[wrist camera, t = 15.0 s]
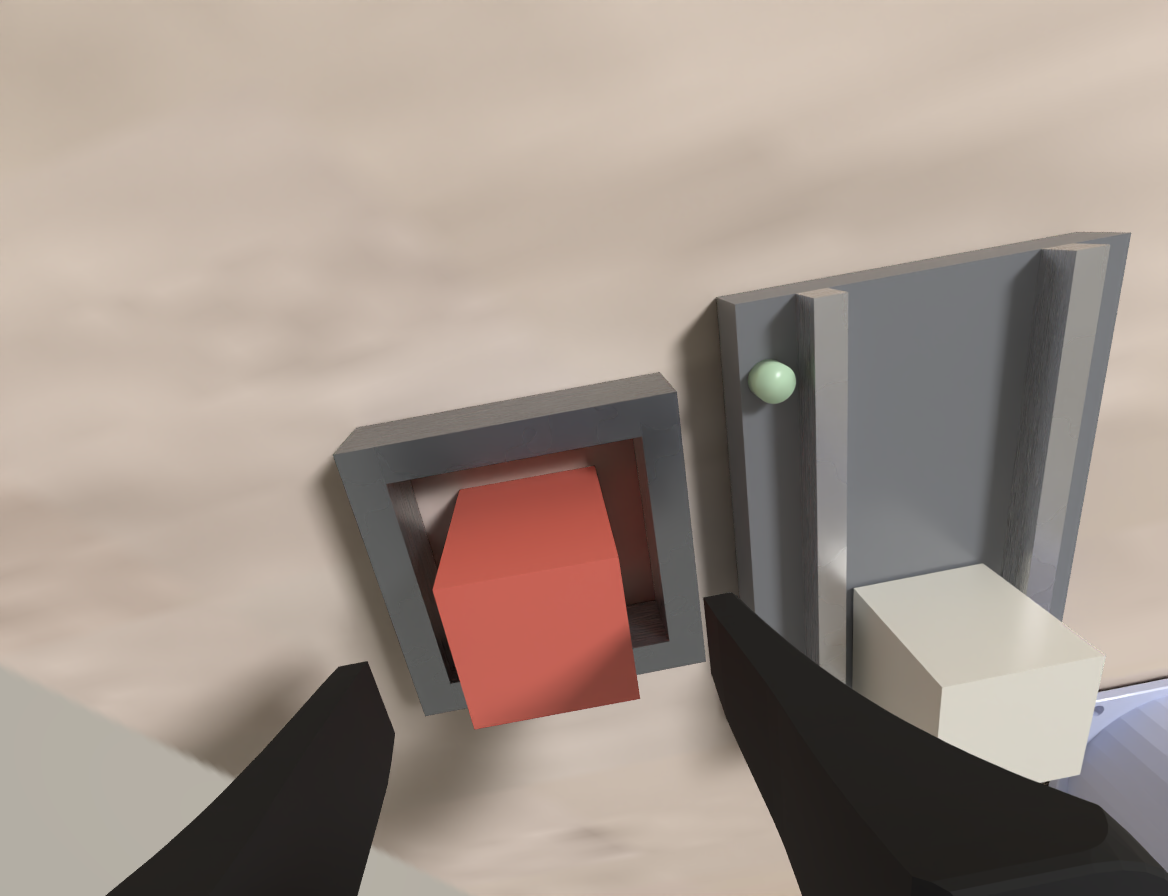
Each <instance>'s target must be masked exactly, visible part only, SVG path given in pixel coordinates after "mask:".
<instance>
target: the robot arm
mask: <svg viewBox="0 0 1168 896" xmlns="http://www.w3.org/2000/svg"><path fill="white" fill-rule="evenodd" d="M703 599H704V609H705V618H706V628H707V637H708V647H709V656H710V666H711V674H712V677H713V680H714V683H715V686H716V689H717V692H718V695H719V698H720V701H721V704H722V707H723V710H724V713H725V716H726V719H727V721H728V723H729V725H730V727H731V730H732V732H733V734H734V736H735V738H736V741H737V743H738V745H739V747H740V749H741V751H742V754H743V756H744V758H745V760H746V762H747V764H748V767H749V769H750V771H751V773H752V775H753V777H754V780H755V782H756V784H757V786H758V788H759V790H760V793H761V795H762V797H763V799H764V801H765V803H766V805H767V808H768V810H769V812H770V814H771V816H772V818H773V821H774V823H775V825H776V828H777V830H778V832H779V835H780V837H781V840H782V842H783V844H784V847H785V849H786V852H787V855H788V858H789V860H790V863H791V866H792V869H793V871H794V874H795V877H796V880H797V882H798V885H799V888H800V891H801V894H802V896H1168V678H1167V679H1162V680H1157V681H1152V682H1147V683H1142V684H1137V685H1132V686H1127V687H1122V688H1117V689H1112V690H1107V691H1102V692H1098V694H1097V699H1096V704H1095V708H1094V713H1093V717H1092V722H1091V726H1090V731H1089V736H1088V740H1087V745H1086V749H1085V754H1084V758H1083V763H1082V768H1081V772H1080V775H1076V776H1071V777H1066V778H1061V779H1056V780H1051V781H1050V782H1049V786H1047V785H1044V784H1041V783H1039V782H1036V781H1033V780H1031V779H1028V778H1025V777H1023V776H1020V775H1018V774H1016V773H1013V772H1011V771H1009V770H1006V769H1004V768H1002V767H999V766H997V765H995V764H993V763H990V762H988V761H986V760H983V759H981V758H979V757H977V756H974V755H972V754H970V753H968V752H966V751H964V750H961V749H959V748H957V747H955V746H953V745H951V744H949V743H947V742H945V741H943V740H941V739H939V738H937V737H935V736H933V735H931V734H929V733H927V732H925V731H924V730H922V729H920V728H918V727H916V726H914V725H912V724H910V723H908V722H906V721H905V720H903V719H901V718H899V717H897V716H896V715H894V714H892V713H890V712H889V711H887V710H885V709H884V708H882V707H880V706H879V705H877V704H875V703H874V702H872V701H870V700H869V699H867V698H866V697H864V696H862V695H861V694H859V693H858V692H856V691H855V690H853V689H852V688H850V687H849V686H847V685H846V684H844V683H843V682H841V681H840V680H839V679H837V678H836V677H834V676H833V675H832V674H830V673H829V672H827V671H826V670H825V669H823V668H822V667H820V666H819V665H818V664H816V663H815V662H814V661H812V660H811V659H810V658H808V657H807V656H806V655H805V654H803V653H802V652H801V651H800V650H798V649H797V648H796V647H795V646H793V645H792V644H791V643H790V642H788V641H787V640H786V639H785V638H783V637H782V636H781V635H780V634H779V633H777V632H776V631H775V630H774V629H773V628H772V627H770V626H769V625H768V624H767V623H766V622H765V621H764V620H762V619H761V618H760V617H759V616H758V615H757V614H756V613H755V612H754V611H752V610H751V609H750V608H749V607H748V606H747V605H746V604H745V603H744V602H743V601H742V600H740V599H739V598H738V597H737V596H736V595H735V594H733V593H732V592H731V593H726V594H720V595H715V596H710V597H704V598H703ZM394 738H395V732H394V729H393V727H392V724H391V721H390V719H389V716H388V714H387V711H386V708H385V706H384V703H383V701H382V698H381V695H380V693H379V690H378V688H377V685H376V682H375V680H374V677H373V674H372V672H371V669H370V667H369V664H368V661H366V662H361V663H356V664H350V665H345V666H340V667H338V668H337V669H336V670H335V671H334V672H333V673H332V674H331V675H330V676H329V677H328V679H327V680H326V681H325V682H324V683H323V684H322V685H321V686H320V687H319V689H318V690H317V691H316V692H315V693H314V694H313V695H312V696H311V698H310V699H309V700H308V701H307V702H306V703H305V704H304V705H303V707H302V708H301V709H300V710H299V711H298V712H297V713H296V714H295V716H294V717H293V718H292V719H291V720H290V721H289V722H288V723H287V724H286V726H285V727H284V728H283V729H282V730H281V731H280V732H279V733H278V734H277V736H276V737H275V738H274V739H273V740H272V741H271V742H270V743H269V744H268V745H267V747H266V748H265V749H264V750H263V751H262V752H261V753H260V754H259V755H258V756H257V757H256V758H255V759H254V760H253V761H252V762H251V763H250V764H249V765H248V766H247V767H246V768H245V770H244V771H243V772H242V773H241V774H240V775H239V776H238V777H237V778H236V779H235V780H234V781H233V782H232V783H231V784H230V785H229V786H228V787H227V788H226V789H225V790H224V791H223V792H222V793H221V794H220V795H219V796H218V797H217V798H216V799H215V800H214V801H213V802H212V803H211V804H210V805H209V806H208V807H207V808H206V809H205V810H204V811H203V812H202V813H201V814H200V815H199V816H197V817H196V818H195V819H194V820H193V821H192V822H191V823H190V824H189V825H188V826H187V827H186V828H184V829H183V830H182V831H181V832H180V833H179V834H178V835H177V836H176V837H174V839H172V840H171V841H170V842H169V843H168V844H167V845H166V846H165V847H164V848H162V849H161V850H160V851H159V852H158V853H156V854H155V855H154V856H153V857H152V858H151V859H149V860H148V861H147V862H146V863H145V864H143V865H142V866H141V867H140V868H138V869H137V870H136V871H135V872H134V873H132V874H131V875H130V876H129V877H127V878H126V879H125V880H124V881H123V882H121V883H120V884H119V885H118V886H117V887H115V888H114V889H113V890H112V891H110V892H109V893H108V894H107V895H106V896H357V895H358V891H359V888H360V884H361V880H362V877H363V873H364V870H365V866H366V863H367V859H368V855H369V852H370V848H371V844H372V841H373V837H374V834H375V830H376V826H377V823H378V819H379V815H380V812H381V808H382V804H383V800H384V797H385V793H386V789H387V785H388V779H389V773H390V767H391V761H392V753H393V745H394Z"/></svg>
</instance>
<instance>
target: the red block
mask: <svg viewBox="0 0 1168 896" xmlns="http://www.w3.org/2000/svg"><path fill="white" fill-rule="evenodd" d="M433 594H434V597H435V600H436V604H437V607H438V610H439V614H440V617H441V620H442V624H443V627H444V630H445V633H446V637H447V640H448V643H449V647H450V650H451V653H452V657H453V660H454V663H455V667H456V670H457V673H458V677H459V680H460V683H461V687H462V690H463V693H464V696H465V700H466V703H467V706H468V710H469V713H470V716H471V720H472V723H473V726H474V729H480V728H485V727H490V726H496V725H501V724H507V723H512V722H517V721H523V720H528V719H533V718H539V717H544V716H550V715H555V714H560V713H566V712H571V711H577V710H582V709H587V708H593V707H598V706H604V705H609V704H614V703H620V702H625V701H631V700H636V699H640V695H639V688H638V681H637V675H636V668H635V662H634V655H633V649H632V642H631V636H630V629H629V623H628V616H627V609H626V603H625V596H624V590H623V583H622V577H621V570H620V564H619V557H618V553H617V549H616V546H615V542H614V538H613V534H612V530H611V527H610V523H609V519H608V515H607V511H606V507H605V504H604V500H603V496H602V492H601V488H600V484H599V481H598V477H597V473H596V469H595V466H591V467H585V468H579V469H574V470H568V471H562V472H557V473H551V474H546V475H540V476H534V477H529V478H523V479H517V480H512V481H506V482H500V483H495V484H489V485H483V486H478V487H472V488H466V489H461V490H459V494H458V497H457V501H456V505H455V508H454V512H453V516H452V520H451V523H450V527H449V531H448V534H447V538H446V542H445V546H444V549H443V553H442V557H441V561H440V564H439V568H438V572H437V575H436V579H435V583H434V587H433Z"/></svg>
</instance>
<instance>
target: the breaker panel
mask: <svg viewBox="0 0 1168 896" xmlns="http://www.w3.org/2000/svg"><path fill="white" fill-rule="evenodd" d="M1130 236H1131V233H1116V232H1075V233H1069V234H1064V235H1058V236H1053V237H1047V238H1042V239H1036V240H1031V241H1025V242H1020V243H1014V244H1009V245H1003V246H998V247H992V248H986V249H981V250H975V251H970V252H964V253H959V254H953V255H948V256H942V257H937V258H931V259H926V260H920V261H915V262H909V263H904V264H898V265H892V266H887V267H881V268H876V269H870V270H865V271H859V272H854V273H848V274H843V275H837V276H832V277H826V278H821V279H815V280H810V281H804V282H798V283H793V284H787V285H782V286H776V287H771V288H765V289H760V290H754V291H749V292H743V293H738V294H732V295H727V296H721V297H717V310H718V324H719V337H720V350H721V363H722V376H723V389H724V402H725V415H726V428H727V441H728V454H729V468H730V481H731V494H732V507H733V520H734V533H735V546H736V559H737V572H738V585H739V598H740V600H742V601H743V602H744V603H745V604H746V605H747V606H748V607H749V608H750V609H751V610H752V611H754V612H755V613H756V614H757V615H758V616H759V617H760V618H761V619H762V620H764V621H765V622H766V623H767V624H768V625H769V626H770V627H772V628H773V629H774V630H775V631H776V632H777V633H779V634H780V635H781V636H782V637H783V638H785V639H786V640H787V641H788V642H790V643H791V644H792V645H793V646H795V647H796V648H797V649H798V650H800V651H801V652H802V653H803V654H805V655H806V656H807V657H808V658H810V659H811V660H812V661H814V662H815V663H816V664H818V665H819V666H820V667H822V668H823V669H825V670H826V671H827V672H829V673H830V674H832V675H833V676H834V677H836V678H837V679H839V680H840V681H841V682H843V683H844V684H846V685H847V686H849V687H850V688H852V676H853V595H854V588H857V587H862V586H868V585H873V584H878V583H883V582H888V581H894V580H899V579H904V578H909V577H914V576H919V575H925V574H930V573H935V572H940V571H945V570H950V569H956V568H961V567H966V566H971V565H976V564H982V563H983V564H984V565H986V566H987V567H988V568H990V569H991V570H993V571H994V572H995V573H997V574H998V575H999V576H1001V577H1002V578H1003V579H1005V580H1006V581H1007V582H1009V583H1010V584H1011V585H1013V586H1014V587H1015V588H1017V589H1018V590H1019V591H1021V592H1022V593H1023V594H1025V595H1026V596H1027V597H1029V598H1030V599H1031V600H1033V601H1034V602H1035V603H1037V604H1038V605H1039V606H1041V607H1042V608H1043V609H1045V610H1046V611H1047V612H1049V613H1050V614H1052V615H1053V616H1054V617H1056V618H1057V619H1058V620H1060V621H1061V622H1062V619H1063V613H1064V607H1065V602H1066V596H1067V591H1068V585H1069V579H1070V574H1071V568H1072V562H1073V557H1074V551H1075V546H1076V540H1077V534H1078V529H1079V523H1080V517H1081V512H1082V506H1083V501H1084V495H1085V489H1086V484H1087V478H1088V473H1089V467H1090V461H1091V456H1092V450H1093V444H1094V439H1095V433H1096V428H1097V422H1098V416H1099V411H1100V405H1101V399H1102V394H1103V388H1104V383H1105V377H1106V371H1107V366H1108V360H1109V354H1110V349H1111V343H1112V338H1113V332H1114V326H1115V321H1116V315H1117V309H1118V304H1119V298H1120V293H1121V287H1122V281H1123V276H1124V270H1125V265H1126V259H1127V253H1128V248H1129V242H1130Z"/></svg>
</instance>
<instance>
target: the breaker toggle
mask: <svg viewBox="0 0 1168 896" xmlns="http://www.w3.org/2000/svg"><path fill="white" fill-rule="evenodd" d="M1105 658H1106V655H1105V654H1104V653H1102V652H1101V651H1100V650H1098V649H1097V648H1096V647H1094V646H1093V645H1092V644H1090V643H1089V642H1088V641H1086V640H1085V639H1084V638H1082V637H1081V636H1080V635H1078V634H1077V633H1076V632H1074V631H1073V630H1072V629H1070V628H1069V627H1068V626H1066V625H1065V624H1064V623H1062V622H1061V621H1060V620H1058V619H1057V618H1056V617H1054V616H1053V615H1052V614H1050V613H1049V612H1047V611H1046V610H1045V609H1043V608H1042V607H1041V606H1039V605H1038V604H1037V603H1035V602H1034V601H1033V600H1031V599H1030V598H1029V597H1027V596H1026V595H1025V594H1023V593H1022V592H1021V591H1019V590H1018V589H1017V588H1015V587H1014V586H1013V585H1011V584H1010V583H1009V582H1007V581H1006V580H1005V579H1003V578H1002V577H1001V576H999V575H998V574H997V573H995V572H994V571H993V570H991V569H990V568H988V567H987V566H986V565H984V564H983V563H982V564H976V565H971V566H966V567H961V568H956V569H950V570H945V571H940V572H935V573H930V574H925V575H919V576H914V577H909V578H904V579H899V580H894V581H888V582H883V583H878V584H873V585H868V586H862V587H857V588H854V595H853V676H852V689H853V690H855V691H856V692H858V693H859V694H861V695H862V696H864V697H866V698H867V699H869V700H870V701H872V702H874V703H875V704H877V705H879V706H880V707H882V708H884V709H885V710H887V711H889V712H890V713H892V714H894V715H896V716H897V717H899V718H901V719H903V720H905V721H906V722H908V723H910V724H912V725H914V726H916V727H918V728H920V729H922V730H924V731H925V732H927V733H929V734H931V735H933V736H935V737H937V738H939V739H941V740H943V741H945V742H947V743H949V744H951V745H953V746H955V747H957V748H959V749H961V750H964V751H966V752H968V753H970V754H972V755H974V756H977V757H979V758H981V759H983V760H986V761H988V762H990V763H993V764H995V765H997V766H999V767H1002V768H1004V769H1006V770H1009V771H1011V772H1013V773H1016V774H1018V775H1020V776H1023V777H1025V778H1028V779H1031V780H1033V781H1036V782H1039V783H1041V782H1046V781H1051V780H1056V779H1061V778H1066V777H1071V776H1076V775H1080V772H1081V768H1082V763H1083V758H1084V754H1085V749H1086V745H1087V740H1088V736H1089V731H1090V726H1091V722H1092V717H1093V713H1094V708H1095V704H1096V699H1097V694H1098V690H1099V685H1100V681H1101V676H1102V672H1103V667H1104V662H1105Z"/></svg>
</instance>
